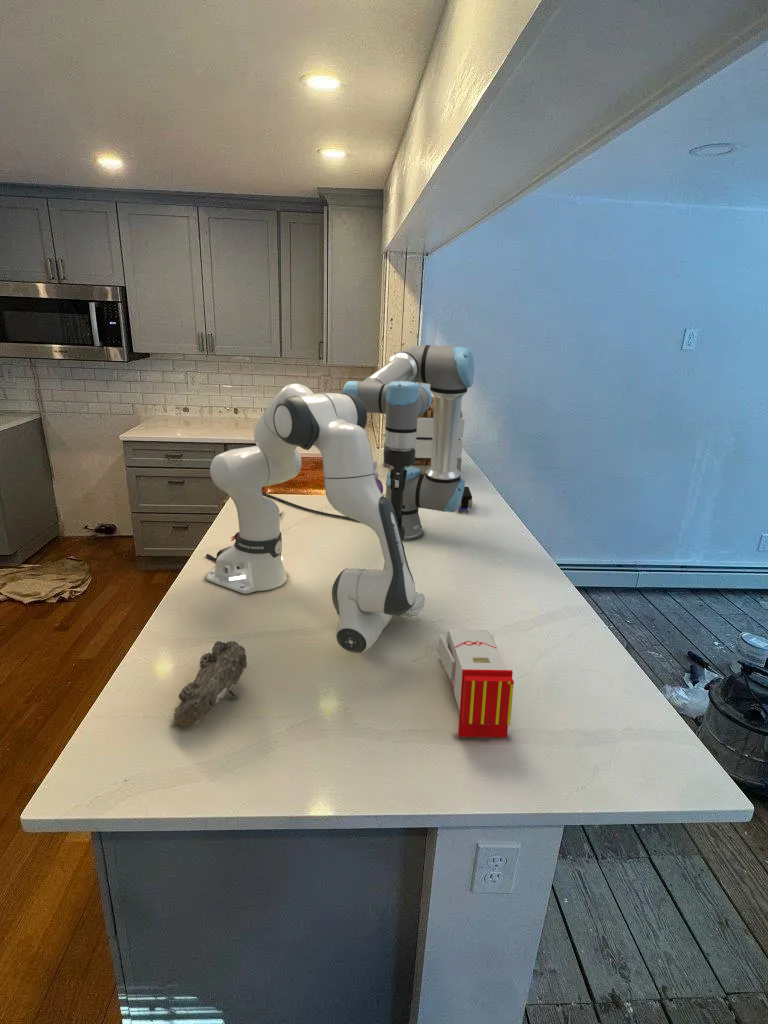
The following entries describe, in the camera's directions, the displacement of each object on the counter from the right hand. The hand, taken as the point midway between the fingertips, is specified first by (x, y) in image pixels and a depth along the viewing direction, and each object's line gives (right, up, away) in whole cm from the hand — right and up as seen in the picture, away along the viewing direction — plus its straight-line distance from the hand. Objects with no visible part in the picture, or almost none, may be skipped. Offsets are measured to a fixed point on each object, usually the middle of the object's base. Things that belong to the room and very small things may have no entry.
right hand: (395, 537), depth 144 cm
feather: (-41, +5, +68) cm, 80 cm away
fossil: (-37, -30, -30) cm, 56 cm away
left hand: (0, -13, +6) cm, 14 cm away
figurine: (-7, +13, +93) cm, 94 cm away
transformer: (+14, +25, +131) cm, 134 cm away
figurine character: (+29, +8, +85) cm, 90 cm away
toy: (+15, -31, -25) cm, 43 cm away
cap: (0, +2, -1) cm, 2 cm away
